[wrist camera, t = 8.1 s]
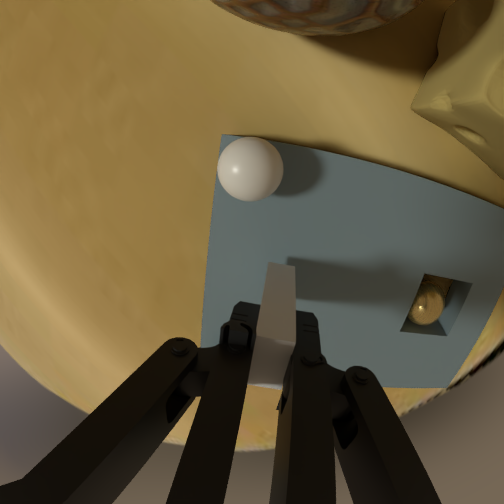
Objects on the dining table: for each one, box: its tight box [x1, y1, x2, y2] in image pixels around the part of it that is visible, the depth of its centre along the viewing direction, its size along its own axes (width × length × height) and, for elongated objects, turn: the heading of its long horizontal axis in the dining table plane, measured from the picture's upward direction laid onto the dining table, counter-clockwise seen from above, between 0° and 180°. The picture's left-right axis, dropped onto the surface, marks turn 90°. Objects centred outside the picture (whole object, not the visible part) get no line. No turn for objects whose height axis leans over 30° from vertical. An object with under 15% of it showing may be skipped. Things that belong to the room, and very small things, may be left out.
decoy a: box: [217, 137, 283, 201], centre depth 14 cm, size 3×3×3 cm
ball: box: [407, 281, 445, 325], centre depth 18 cm, size 3×3×3 cm
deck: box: [200, 134, 504, 388], centre depth 18 cm, size 16×22×2 cm
